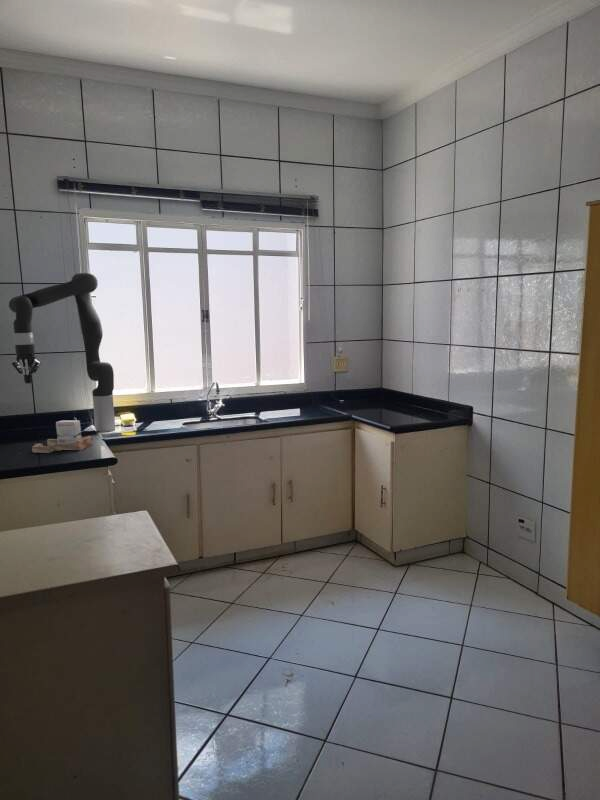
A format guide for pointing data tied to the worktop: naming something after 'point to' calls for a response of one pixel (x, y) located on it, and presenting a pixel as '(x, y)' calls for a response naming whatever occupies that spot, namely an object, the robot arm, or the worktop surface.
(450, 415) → the worktop surface
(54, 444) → the trap lane
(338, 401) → the worktop surface
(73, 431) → the ink box
